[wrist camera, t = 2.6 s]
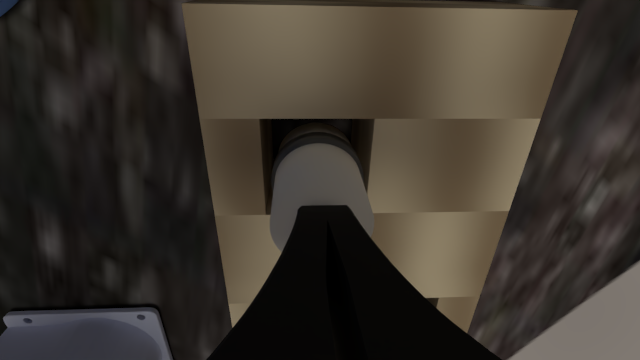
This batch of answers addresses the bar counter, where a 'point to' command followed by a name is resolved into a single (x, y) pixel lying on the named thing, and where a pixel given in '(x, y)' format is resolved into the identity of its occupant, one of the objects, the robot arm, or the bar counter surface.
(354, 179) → the white peg
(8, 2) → the water jug
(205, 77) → the beech block
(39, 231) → the bar counter surface
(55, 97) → the bar counter surface
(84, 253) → the bar counter surface
